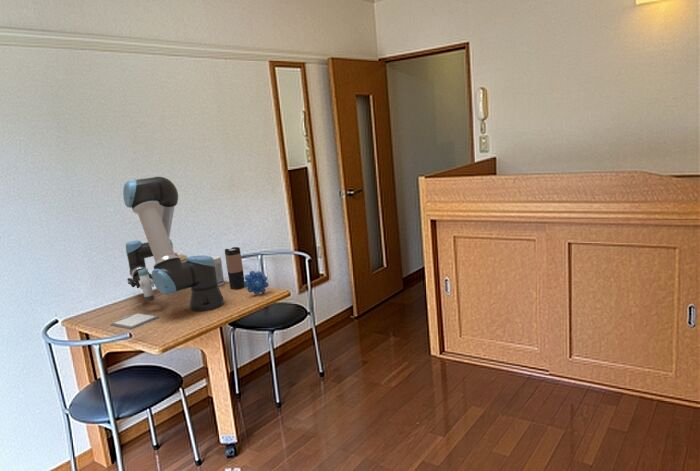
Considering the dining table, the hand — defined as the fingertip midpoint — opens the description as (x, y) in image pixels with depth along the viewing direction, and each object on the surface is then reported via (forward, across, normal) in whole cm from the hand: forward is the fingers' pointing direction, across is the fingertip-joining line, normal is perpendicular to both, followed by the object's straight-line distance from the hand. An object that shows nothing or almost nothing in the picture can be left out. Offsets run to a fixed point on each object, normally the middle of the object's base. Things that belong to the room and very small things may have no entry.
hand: (147, 285), depth 233 cm
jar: (-38, -21, -12) cm, 45 cm away
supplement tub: (-25, -35, -13) cm, 45 cm away
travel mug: (-12, -43, -14) cm, 46 cm away
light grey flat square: (+5, +8, -14) cm, 16 cm away
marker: (-4, 0, -8) cm, 9 cm away
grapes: (+9, -46, -14) cm, 49 cm away
